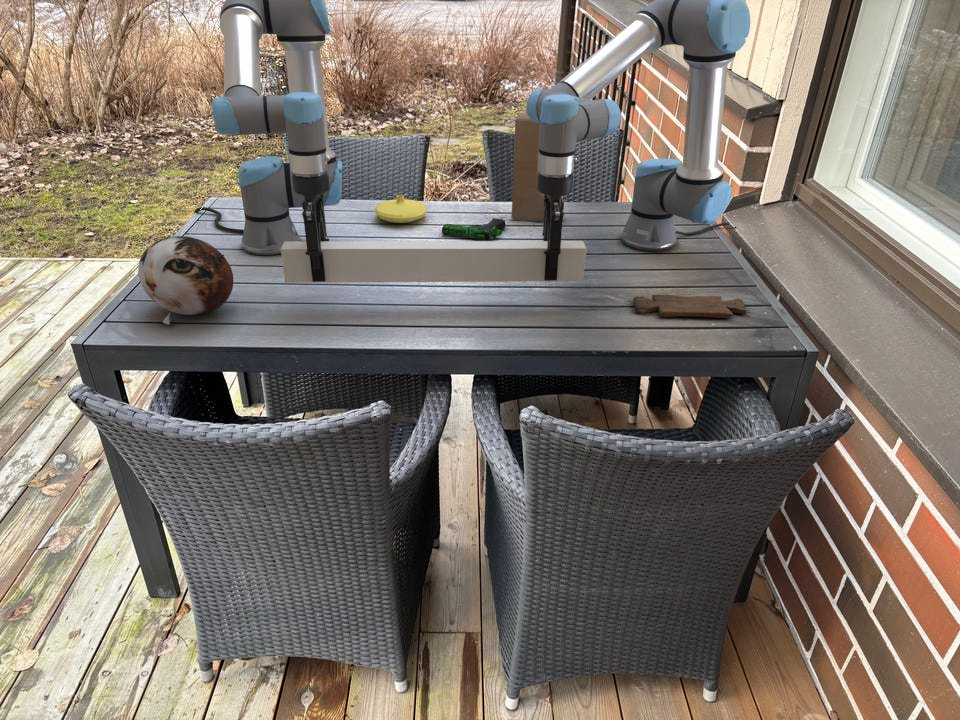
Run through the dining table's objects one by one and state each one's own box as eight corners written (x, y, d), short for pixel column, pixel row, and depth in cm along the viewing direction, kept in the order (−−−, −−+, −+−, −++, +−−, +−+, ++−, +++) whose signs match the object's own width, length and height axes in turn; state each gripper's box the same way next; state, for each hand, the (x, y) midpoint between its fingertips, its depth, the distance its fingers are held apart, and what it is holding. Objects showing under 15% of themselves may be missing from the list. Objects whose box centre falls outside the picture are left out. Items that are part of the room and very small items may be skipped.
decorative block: (560, 223, 215) (568, 120, 200) (511, 220, 217) (515, 118, 201) (561, 214, 221) (569, 114, 206) (513, 212, 223) (517, 112, 208)
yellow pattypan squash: (398, 206, 226) (397, 184, 222) (437, 217, 218) (437, 194, 214) (364, 220, 215) (362, 197, 211) (403, 231, 207) (402, 208, 203)
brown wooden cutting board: (751, 321, 162) (739, 301, 171) (753, 314, 161) (740, 295, 170) (638, 317, 162) (631, 298, 171) (639, 310, 162) (632, 291, 170)
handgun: (511, 219, 210) (493, 234, 198) (511, 228, 211) (492, 244, 199) (461, 212, 215) (440, 226, 203) (461, 221, 217) (440, 236, 204)
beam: (285, 282, 158) (280, 249, 154) (288, 274, 162) (284, 241, 158) (583, 281, 162) (586, 248, 158) (579, 273, 165) (582, 240, 161)
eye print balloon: (100, 300, 154) (135, 215, 156) (167, 323, 170) (198, 245, 171) (166, 325, 144) (203, 233, 145) (230, 347, 159) (263, 264, 161)
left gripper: (322, 185, 141) (332, 292, 153) (333, 161, 156) (342, 260, 168) (283, 184, 140) (297, 292, 152) (298, 160, 155) (309, 260, 167)
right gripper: (579, 185, 143) (571, 291, 155) (567, 161, 159) (560, 259, 170) (542, 185, 143) (536, 291, 155) (533, 161, 158) (529, 259, 170)
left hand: (320, 275), depth 160 cm, fingers closed on beam, 5 cm apart
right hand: (549, 274), depth 163 cm, fingers closed on beam, 5 cm apart
